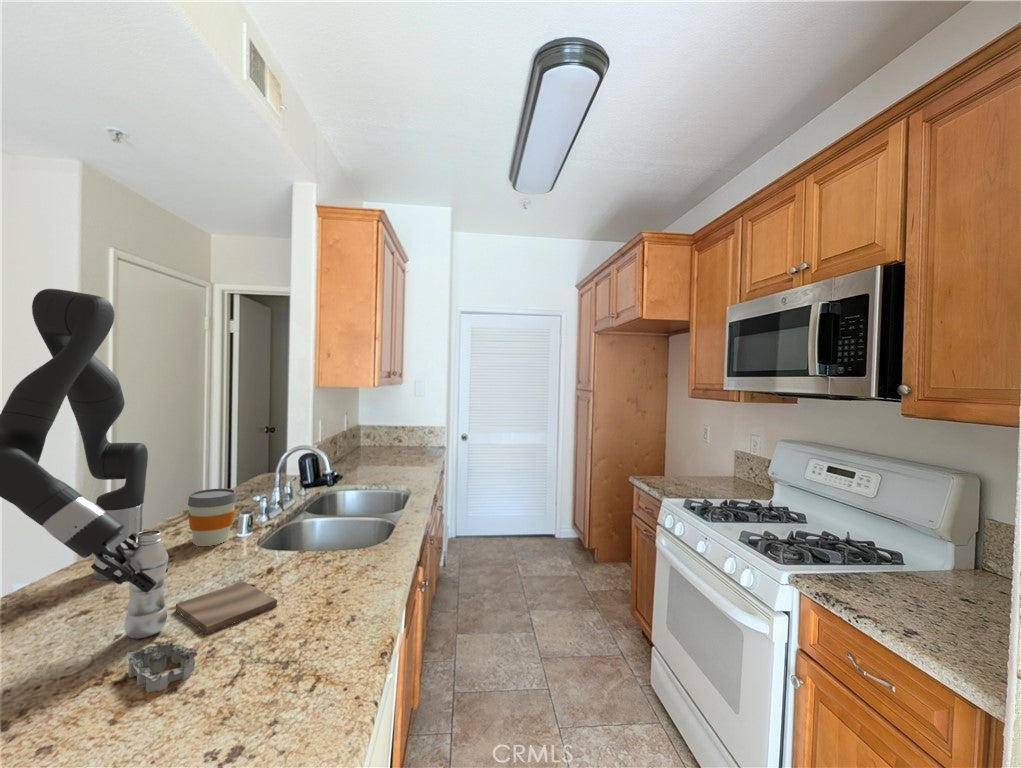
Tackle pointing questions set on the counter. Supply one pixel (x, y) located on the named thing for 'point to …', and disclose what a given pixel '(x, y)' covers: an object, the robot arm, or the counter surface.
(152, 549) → the plastic bottle
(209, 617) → the walnut board
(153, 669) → the metal cookie cutter
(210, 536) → the reusable coffee cup
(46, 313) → the robot arm
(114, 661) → the counter surface
